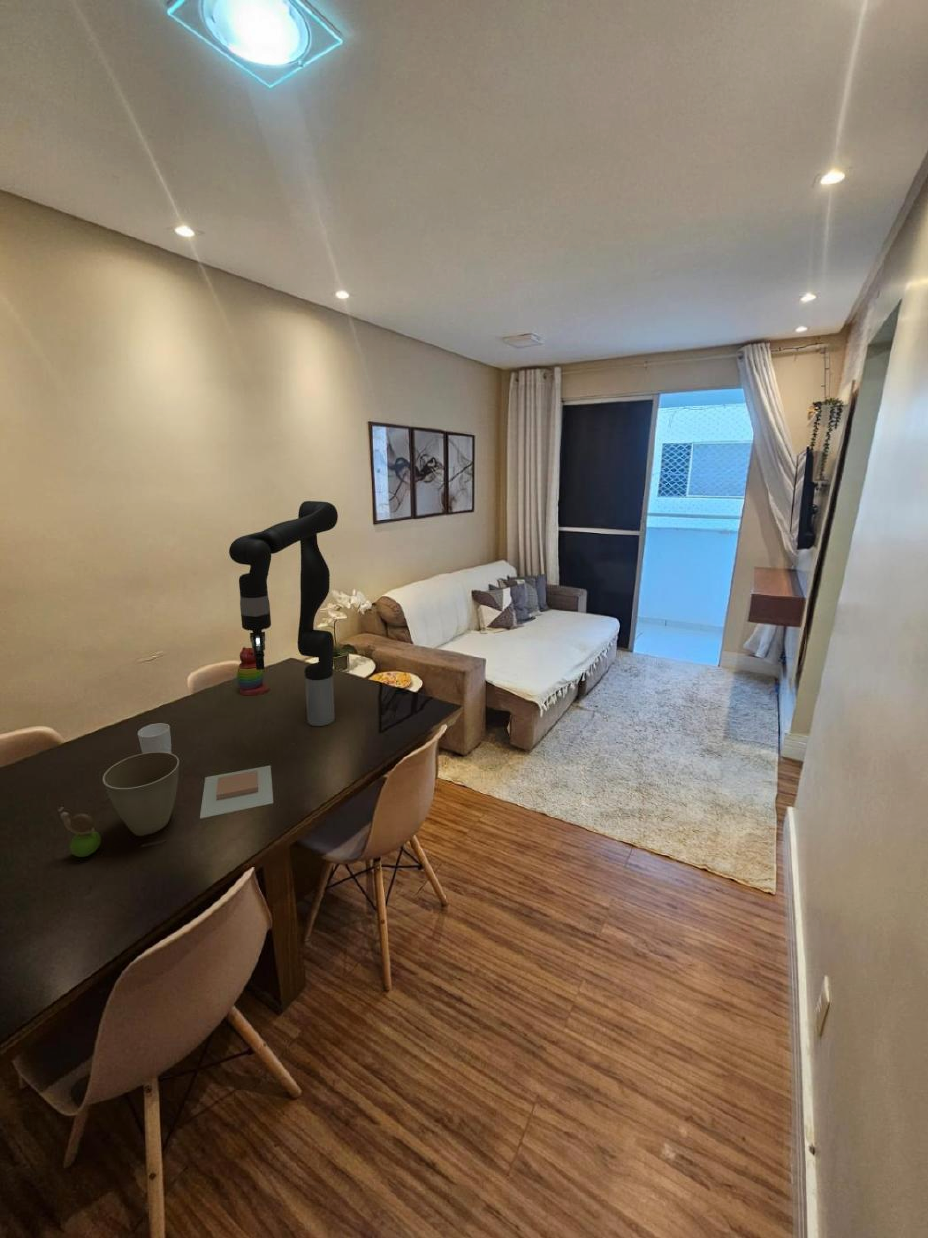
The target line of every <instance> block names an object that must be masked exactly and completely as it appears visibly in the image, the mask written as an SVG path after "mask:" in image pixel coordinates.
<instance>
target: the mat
mask: <svg viewBox="0 0 928 1238" xmlns="http://www.w3.org/2000/svg"><path fill="white" fill-rule="evenodd" d="M271 768H272V765H265V766H261V767H255V768H249V769H243V770H239V771H238V770H237V771H233V772H228V773H221V774H217V775H212V776H211V775H210V776H206V777H205V779H204V784H203V785H204V787H203V793H202V801H201V808H200V815H199V819H203V818H204V819H206V818H209V817H214V816H218V815H223V814H228V813H232V812H238V811H242V810H248V809H252V808H256V807H261V806H266V805H271V804H274V794H273V781H272V769H271ZM252 771H258V792H254V793H249V794H244V795H239V796H234V797H229V798H224V799H219V800H217V797H216V793H217V783H218V778H219V777H225V776H230V775H235V774H241V773H246V772H252Z"/></svg>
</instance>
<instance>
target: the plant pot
mask: <svg viewBox="0 0 928 1238" xmlns="http://www.w3.org/2000/svg"><path fill="white" fill-rule="evenodd" d="M179 768H180V759H179V758H178V756H177V755H176V754H173V753H172V752H171V753H167V752H149V753H140V754H139V753H138V754H136V755H132V756H130V757H129V756H128V757H127V758H125V759H122V760H120V761H119V762H117V763H115V764H114V765H112V766H111V767H109V768H108V769H107V770H106V771H105V772H104V774H103V776H102V783H103V785H104V788H105V790H106V793H107V795H108V797H109V799H110V801H111V803H112V805H113V807H114V808H115V809H114V810H116V812H117V814H118V815H119V817H120V819H121V820H122V821H123V823H124V824H125V825H126V827H127V828H128V829H129V830H130V832H132V833H133V834H134V835H135V836H138V837H144V836H146V835H151V834H154V833H156V832H159V831H160V830H161V829H163V828H164V827H166V826H167V824H168V823H169V821H170V818H171V815H172V812H173V807H174V804H175V800H176V795H177V790H178V782H179Z"/></svg>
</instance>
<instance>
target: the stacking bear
mask: <svg viewBox="0 0 928 1238" xmlns="http://www.w3.org/2000/svg"><path fill="white" fill-rule="evenodd" d="M241 649H242V650H241V651H240V652H239V660H240V663H239V665H238V667H237V674H236V677H237V682H238V685H239V690H238V692H239V694H240V695H243V696H256V695H261V694H266V693H268V692H269V691H270V687H269V686H268V685H265V684H264V683H263V681H264V671H263V670H264V669H263V670H257V669H256V660H255V657H254V651H252V647H246V646H244V647H242V648H241Z"/></svg>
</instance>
